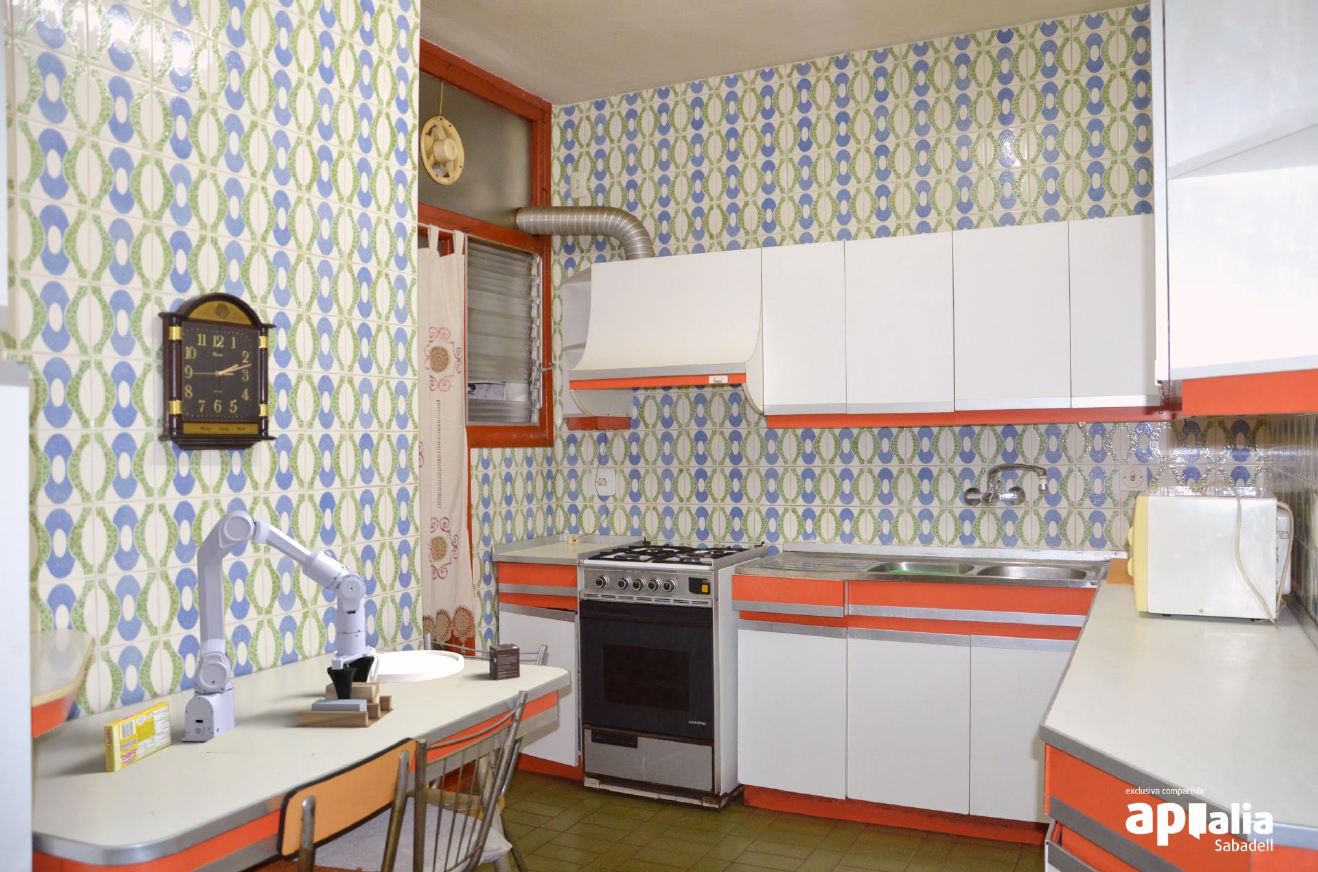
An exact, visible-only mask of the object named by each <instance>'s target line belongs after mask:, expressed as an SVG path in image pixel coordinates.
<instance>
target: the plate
mask: <svg viewBox="0 0 1318 872" xmlns="http://www.w3.org/2000/svg"><path fill="white" fill-rule="evenodd" d="M378 654H379V655H380V656H381V665H380V668H379V671H378V675H377V678H376V680H375V682H379V684H397V683H398V684H399V683H413V682H422V681H427V680H428V681H429V680H434V679H440V678H444V677H448V676H450V675H453V674H457V673H458V672H460V671H462V670H463V669H464V666H465V665H464V664H465V659H464V656H463V655H462V654H459V653H457V652H452V651H448V650H447V651H446V650H435V649H433V650H430V649H427V650H424V649H417V650H401V651H400V650H399V651H391V652H385V653H384V652H383V653H378ZM376 663H377V658H376V657H375V660H374V670H375V667H376Z"/></svg>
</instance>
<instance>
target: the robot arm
mask: <svg viewBox="0 0 1318 872" xmlns="http://www.w3.org/2000/svg"><path fill="white" fill-rule="evenodd" d="M250 539H252V544H263V545H268V546H270V547H272V548H274V549H276V550H277V551H279V552H280V553H282V554H284V555H285V556H287V557H288V558H290V559H291V560H293V561H294V562H297V563H298V564H300V565H301V570H302V574H303V575H304V576H306V577H307V578H309V579H311V580H312V581H314V582H315V583H316V584H318V585H320V586H321V587H322V588H324V589H325V590H328V591H334V593H335V595H336V596H337V597H336V609H335V623H336V624H335V628H336V630H335V631H336V632H335V633H336V635H335V636H336V637H335V639H336V650H337V653H336V654H335V657H334V656H333V658H332V659H331V666H328V667H327V668H326V673H327V674H328V676H329V678H330V680H331V681H332V683H333V684H334V686H335V690H336V693H337V697H338V699H342V700H350V698H351V690H352V682H367V679H368V675H369V672H370V669H371V666H372V664H373V662H374V660H375V657H374V656H370V655H371V652H370V647H371V646H370V645H366V613H365V611H366V608H365V607H364V605H365V599H364V596H365V595H366V592H367V587H366V585H365V581H364V580H363V579H362V578H363V577H361V576H360V575H359V574H358V573H357V572H356V571H354V570H351V569H352V568H351V566H349V565H344V564H342V563H341V562H339V561H338V560H336V559H335V558H333V557H332V553H331V552H329V551H328V550H326V551H325V552H324V551H322V550H320V549H319V550H314V551H310V550H308V549H307V548H305V547H304V546H303V545H302V544H300V543H299V542H297V541H295V540H294V539H293V538H292V537H290V536H289V535H288V534H286V533H284V532H283V531H281V530H280V529H278V528H277V527H276V526H275V525H273V524H271V523H269V522H267V521H265V520H264V519H262V518H259V517H257V516H254V517H253V516H252V515H251V514H250V513H249V512H248V511H245V510H243V509H242V510H241V509H235V510H232V511H229V512H228V513H226V514H225V515H224V516H223V517H221V518H220V519H219V520H217V522H215V524H214V526H213V527H212V529H211V530H210V532H209V533H208V535H206V538H205V539H204V541H203V542H202V543H201V545H200V546H199V548H198V549H197V552H196V567H197V588H198V589H197V593H198V613H199V617H198V618H199V634H200V635H199V639H200V644H199V645H200V647H199V648H200V649H199V659H200V660H199V661H198V665H197V668H196V671H195V674H194V675H195V681H196V684H197V685H195V686H194V689H193V691H194V694H193V696H192V697H191V698H190V699H189V700H188V702H187V703H186V705H185V708H184V727H185V728H184V729H185V731H184V733H185V734H184V735H185V736H184V737H181V739H180V741H181V742H208V741H210V740H212V739H214V738H216V737H218V736H220V735H222V734H224V733H226V732H227V733H228V732H230V731H232V730H234V729H236V727H237V725H236V718H235V717H236V716H235V715H236V714H235V713H236V712H235V710H236V709H235V683H234V682H232V681H231V680H230V679H231V675H232V668H233V662H232V659H231V657H230V655H229V654H228V651H227V641H226V626H225V625H226V623H225V603H224V602H225V601H224V600H225V598H224V597H225V596H224V594H225V593H224V580H223V579H224V578H223V577H224V575H223V573H224V572H223V571H224V570H223V560H224V558H225V557H226V556H228V554H230V553H231V552H232V550H233V549H234V548H237V547H239V546H241V545H243V544H245V543H246V542H248V541H249V540H250ZM347 664H348V667H347Z"/></svg>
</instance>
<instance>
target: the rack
mask: <svg viewBox="0 0 1318 872" xmlns="http://www.w3.org/2000/svg"><path fill="white" fill-rule="evenodd" d="M324 699H326V695H325V696H324ZM392 701H393V700H392V695H379V703H367V711H312V710H299V711H297V725H296V726H294V728H345V729H346V728H349V729H352V728H353V729H354V728H358V729H359V728H363V729H365V728H366V729H368V728H369V727H371V726H372V725H374V724H375V723H377V722H378V721H380V720H381V719H382V718H384V717H385V716H387V715H388V714H389V713H391V712H392V711H394V710H395V708H393V706H392V705H393V704H392V703H393V702H392Z"/></svg>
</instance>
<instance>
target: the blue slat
mask: <svg viewBox="0 0 1318 872" xmlns="http://www.w3.org/2000/svg"><path fill="white" fill-rule="evenodd" d="M311 711H367V700H342V699H325V698H324V699H323V698H321V699H317V700H315V701H313V702H312V703H311Z"/></svg>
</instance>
